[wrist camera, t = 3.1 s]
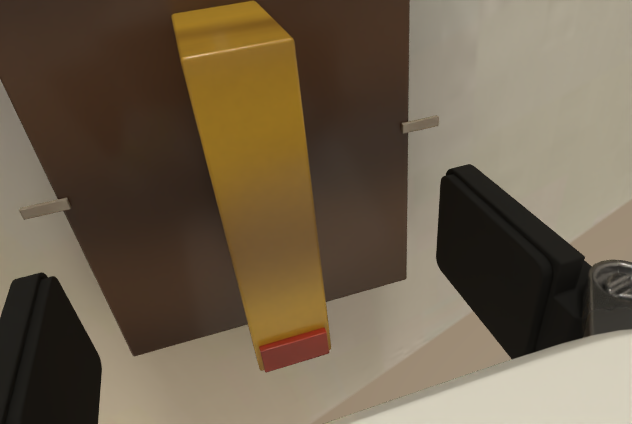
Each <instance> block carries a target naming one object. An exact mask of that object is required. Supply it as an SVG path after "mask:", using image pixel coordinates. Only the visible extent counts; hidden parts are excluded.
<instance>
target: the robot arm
mask: <svg viewBox="0 0 632 424" xmlns="http://www.w3.org/2000/svg"><path fill="white" fill-rule="evenodd" d="M584 259H585V257H584V256H583V255H582V254H581V253H580V252H579V251H577V250H576V249H575V248H573V247H572V246H571V245H570V244H569V243H568V242H566V241H565V240H564V239H563V238H561V237H560V236H559V235H558V234H557V233H555V232H554V231H553V230H552V229H550V228H549V227H548V226H547V225H545V224H544V223H543V222H542V221H541V220H539V219H538V218H537V217H536V216H534V215H533V214H532V213H531V212H530V211H528V210H527V209H526V208H525V207H523V206H522V205H521V204H520V203H519V202H517V201H516V200H515V199H514V198H512V197H511V196H510V195H509V194H508V193H506V192H505V191H504V190H503V189H501V188H500V187H499V186H498V185H497V184H495V183H494V182H493V181H492V180H490V179H489V178H488V177H487V176H485V175H484V174H483V173H482V172H481V171H479V170H478V169H477V168H476V167H474V166H473V165H471V164H468V165H464V166H460V167H456V168H452V169H449V170H448V171H447V173H446V176H444V177H442V179H441V185H440V201H439V218H438V235H437V251H436V260H437V264H438V266H439V268H440V270H441V271H442V273H443V274H444V275H445V276H446V278H447V279H448V280H449V281H450V283H451V284H452V285H453V286H454V288H455V289H456V290H457V291H458V293H459V294H460V295H461V296H462V297H463V299H464V300H465V301H466V302H467V304H468V305H469V306H470V307H471V309H472V310H473V311H474V312H475V314H476V315H477V316H478V317H479V319H480V320H481V321H482V322H483V324H484V325H485V326H486V327H487V329H488V330H489V331H490V332H491V334H492V335H493V336H494V337H495V339H496V340H497V341H498V342H499V344H500V345H501V346H502V347H503V349H504V350H505V351H506V352H507V354H508V355H509V356H510V357H511V359H512V360H509V361H506V362H503V363H500V364H497V365H494V366H491V367H488V368H485V369H482V370H479V371H476V372H473V373H470V374H467V375H464V376H461V377H458V378H455V379H453V380H450V381H447V382H444V383H441V384H438V385H435V386H432V387H429V388H426V389H423V390H420V391H417V392H414V393H411V394H408V395H405V396H403V397H399V398H397V399H394V400H391V401H388V402H385V403H382V404H379V405H377V406H373V407H370V408H367V409H365V410H362V411H359V412H356V413H353V414H350V415H347V416H344V417H341V418H339V419H336V420H333V421H330V422H327V423H324V424H632V262H628V261H623V260H606V261H601V262H599V263H597V264H595V265H593V266H590V265H589V264H588V263H587V262H586V261H584ZM101 374H102V366H101V360H100V357H99V355H98V353H97V351H96V349H95V347H94V345H93V343H92V342H91V340H90V338H89V336H88V334H87V332H86V331H85V329H84V327H83V325H82V323H81V321H80V320H79V318H78V316H77V314H76V312H75V310H74V308H73V307H72V305H71V303H70V301H69V299H68V297H67V296H66V294H65V292H64V290H63V288H62V286H61V285H60V283H59V281H58V279H57V278H56V277H54V276H52V277H49V278H48V277H47V275H45V274H44V273H38V274H34V275H30V276H26V277H22V278H18V279H15V280H13V281H12V283H11V286H10V289H9V292H8V295H7V298H6V302H5V305H4V308H3V311H2V314H1V317H0V424H98V415H99V401H100V387H101Z"/></svg>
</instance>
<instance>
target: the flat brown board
mask: <svg viewBox="0 0 632 424" xmlns="http://www.w3.org/2000/svg"><path fill="white" fill-rule="evenodd" d="M248 1H256V2H257V3H258V4H259V5H260V6H261V7H262V8H263V9H264V10H265V11H266V12H267V13H268V14H269V15H270V16H271V17H272V18H273V19H274V20H275V21H276V22H277V23H278V24H279V25H280V26H281V27H282V28H283V29H284V30H285V31H286V32H287V33H288V34H289V35H290V36H291V37H292V38H293V39H294V42H295V50H296V59H297V67H298V75H299V84H300V92H301V100H302V109H303V117H304V125H305V134H306V142H307V150H308V159H309V167H310V175H311V183H312V192H313V200H314V208H315V217H316V225H317V233H318V242H319V250H320V258H321V267H322V275H323V283H324V292H325V300H326V302H327V301H331V300H334V299H338V298H341V297H345V296H348V295H352V294H355V293H359V292H362V291H366V290H369V289H373V288H377V287H380V286H384V285H387V284H391V283H394V282H398V281H401V280H405V279H406V263H407V176H408V133H409V132H413V131H417V130H422V129H426V128H431V127H435V126H438V124H439V117H438V116H437V115H436V116H432V117H427V118H423V119H418V120H414V121H409V122H408V89H409V2H410V0H0V79H1V81H2V83H3V86H4V88H5V90H6V92H7V94H8V96H9V98H10V100H11V102H12V104H13V106H14V109H15V111H16V113H17V115H18V117H19V119H20V121H21V123H22V125H23V127H24V129H25V132H26V134H27V136H28V138H29V140H30V142H31V144H32V146H33V148H34V150H35V152H36V154H37V157H38V159H39V161H40V163H41V165H42V167H43V169H44V171H45V173H46V175H47V177H48V180H49V182H50V184H51V186H52V188H53V190H54V192H55V194H56V196H57V198H58V200H54V201H49V202H45V203H40V204H36V205H31V206H27V207H22V208H20V209H19V211H20V213H21V215H22V217H23V219H29V218H33V217H38V216H42V215H47V214H51V213H55V212H60V211H64V213H65V215H66V217H67V219H68V221H69V223H70V225H71V228H72V230H73V232H74V234H75V236H76V238H77V240H78V242H79V244H80V246H81V248H82V250H83V253H84V255H85V257H86V259H87V261H88V263H89V265H90V267H91V269H92V271H93V273H94V276H95V278H96V280H97V282H98V284H99V286H100V288H101V290H102V292H103V294H104V296H105V298H106V301H107V303H108V305H109V307H110V309H111V311H112V313H113V315H114V317H115V319H116V321H117V324H118V326H119V328H120V330H121V332H122V334H123V336H124V338H125V340H126V342H127V344H128V347H129V349H130V351H131V353H132V355H133V356H138V355H141V354H145V353H148V352H152V351H155V350H159V349H162V348H166V347H169V346H173V345H176V344H180V343H183V342H187V341H190V340H194V339H197V338H201V337H204V336H208V335H211V334H215V333H218V332H222V331H225V330H229V329H233V328H236V327H240V326H243V325H247V324H248V322H247V318H246V315H245V311H244V307H243V303H242V299H241V295H240V291H239V287H238V283H237V280H236V276H235V272H234V268H233V264H232V260H231V256H230V252H229V248H228V245H227V241H226V237H225V233H224V229H223V225H222V221H221V217H220V213H219V210H218V206H217V202H216V198H215V194H214V190H213V186H212V182H211V178H210V175H209V171H208V167H207V163H206V159H205V155H204V151H203V147H202V144H201V140H200V136H199V132H198V128H197V124H196V120H195V116H194V112H193V109H192V105H191V101H190V97H189V93H188V89H187V85H186V81H185V77H184V74H183V70H182V66H181V62H180V57H179V52H178V48H177V43H176V38H175V33H174V28H173V23H172V19H171V16H172V15H173V14H175V13H181V12H187V11H193V10H199V9H205V8H212V7H218V6H224V5H230V4H236V3H242V2H248Z"/></svg>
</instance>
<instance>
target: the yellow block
mask: <svg viewBox="0 0 632 424" xmlns="http://www.w3.org/2000/svg"><path fill="white" fill-rule="evenodd" d="M171 19H172V23H173V28H174V33H175V38H176V43H177V48H178V52H179V57H180V62H181V66H182V70H183V74H184V77H185V81H186V85H187V89H188V93H189V97H190V101H191V105H192V109H193V112H194V116H195V120H196V124H197V128H198V132H199V136H200V140H201V144H202V147H203V151H204V155H205V159H206V163H207V167H208V171H209V175H210V178H211V182H212V186H213V190H214V194H215V198H216V202H217V206H218V210H219V213H220V217H221V221H222V225H223V229H224V233H225V237H226V241H227V245H228V248H229V252H230V256H231V260H232V264H233V268H234V272H235V276H236V280H237V283H238V287H239V291H240V295H241V299H242V303H243V307H244V311H245V315H246V318H247V322H248V326H249V330H250V334H251V338H252V342H253V346H254V349H255V353H256V357H257V361H258V365H259V369H260V370H265V372H269V371H273V370H276V369H279V368H282V367H286V366H289V365H292V364H296V363H299V362H302V361H305V360H309V359H312V358H315V357H319V356H322V355H325V354H328V353H329V350H330V349H331V341H330V333H329V325H328V317H327V308H326V300H325V292H324V283H323V275H322V267H321V258H320V250H319V242H318V233H317V225H316V217H315V208H314V200H313V192H312V183H311V175H310V167H309V159H308V150H307V142H306V134H305V125H304V117H303V109H302V100H301V92H300V84H299V75H298V67H297V59H296V50H295V42H294V39H293V38H292V37H291V36H290V35H289V34H288V33H287V32H286V31H285V30H284V29H283V28H282V27H281V26H280V25H279V24H278V23H277V22H276V21H275V20H274V19H273V18H272V17H271V16H270V15H269V14H268V13H267V12H266V11H265V10H264V9H263V8H262V7H261V6H260V5H259V4H258V3H257V2H256V1H248V2H242V3H236V4H230V5H224V6H218V7H212V8H205V9H199V10H193V11H187V12H181V13H175V14H173V15H172V16H171Z"/></svg>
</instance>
